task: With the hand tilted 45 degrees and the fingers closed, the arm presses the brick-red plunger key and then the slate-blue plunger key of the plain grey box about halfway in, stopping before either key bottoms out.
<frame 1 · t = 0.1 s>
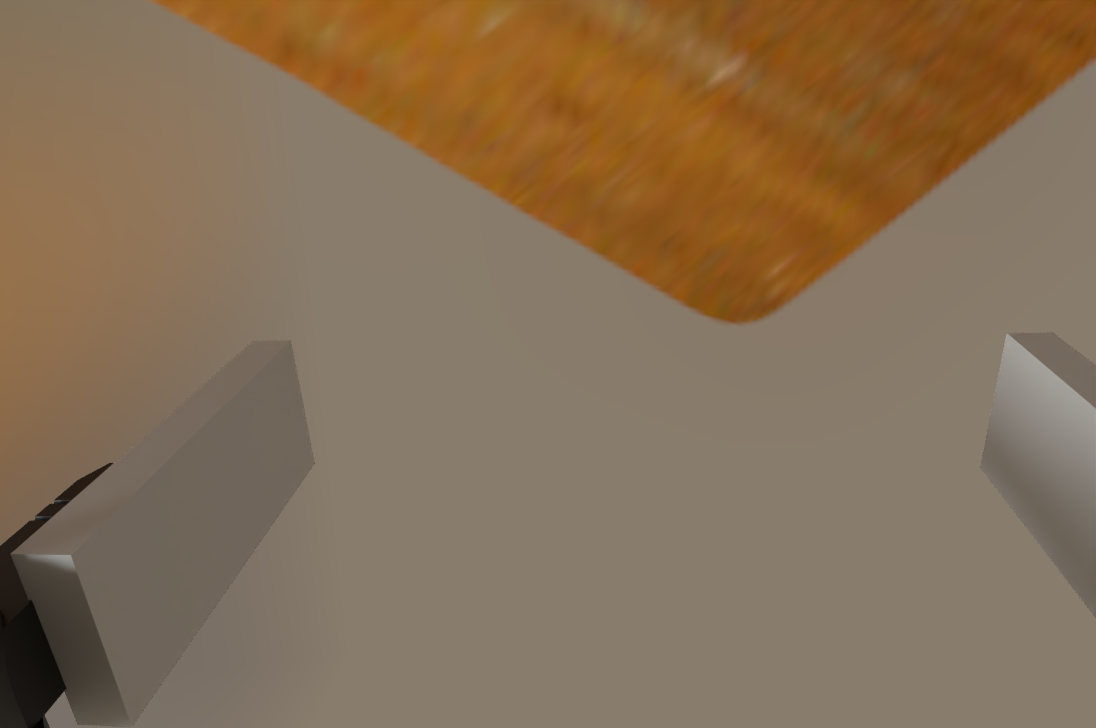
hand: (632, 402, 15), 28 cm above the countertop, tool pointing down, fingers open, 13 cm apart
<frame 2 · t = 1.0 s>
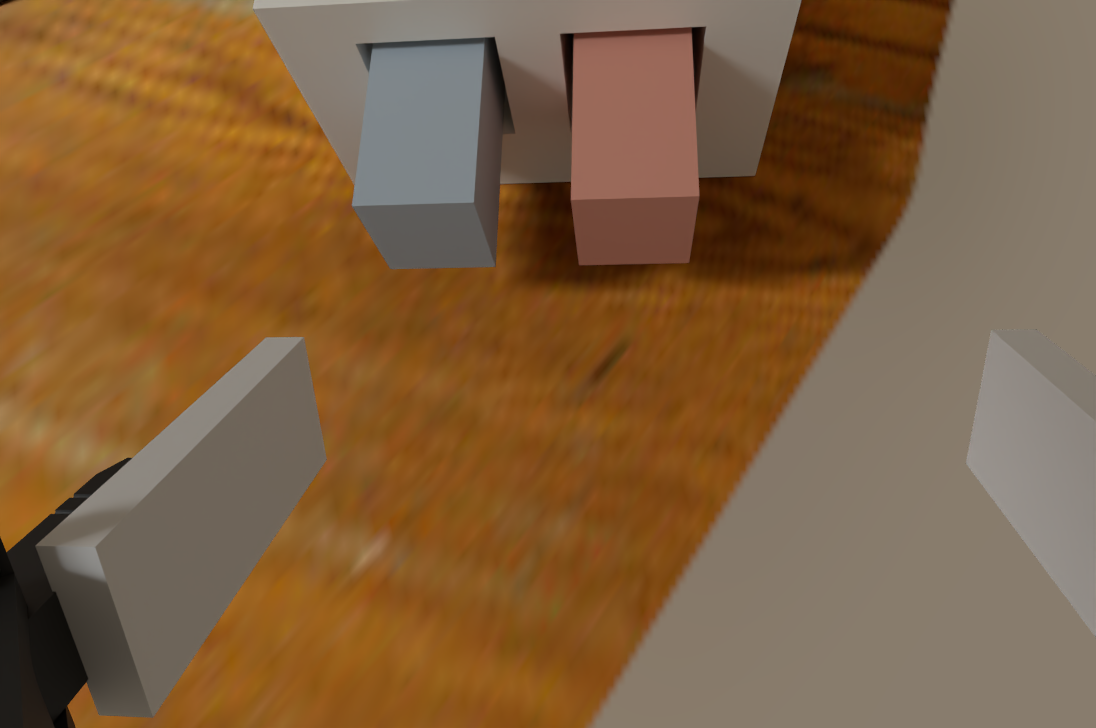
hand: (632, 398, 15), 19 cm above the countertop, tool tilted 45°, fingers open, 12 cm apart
brick key: (631, 64, 33), point 7 cm above the countertop, slide at 0.0 cm
slate key: (443, 72, 34), point 7 cm above the countertop, slide at 0.0 cm
plain grey box: (554, 69, 42), on the countertop
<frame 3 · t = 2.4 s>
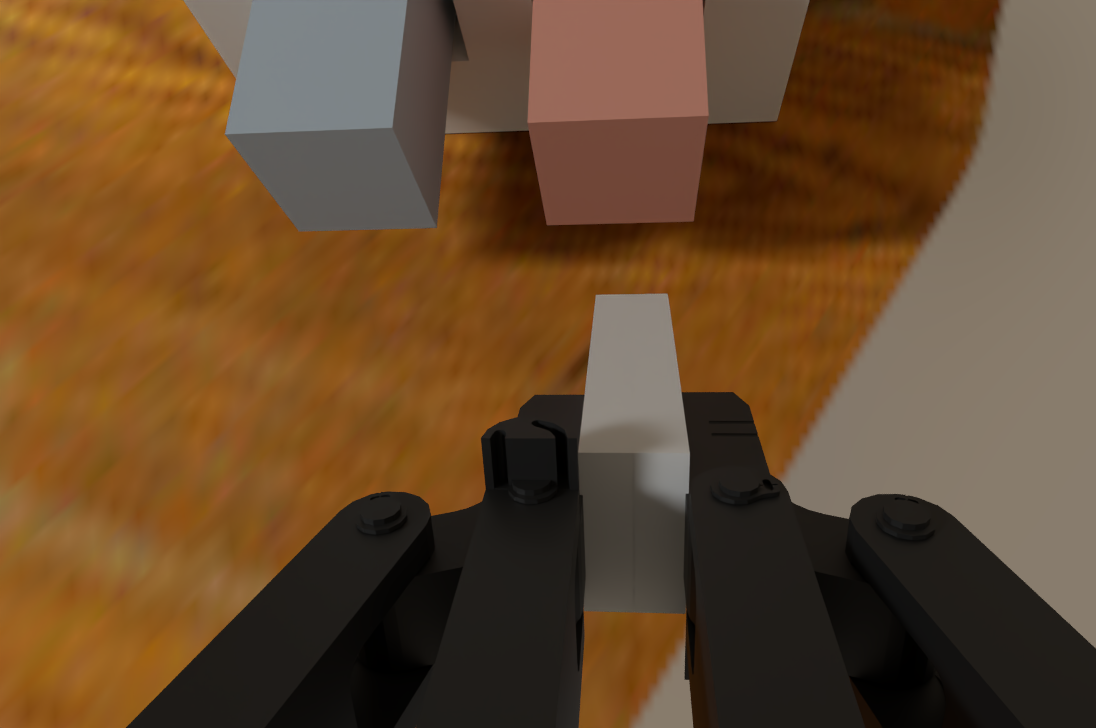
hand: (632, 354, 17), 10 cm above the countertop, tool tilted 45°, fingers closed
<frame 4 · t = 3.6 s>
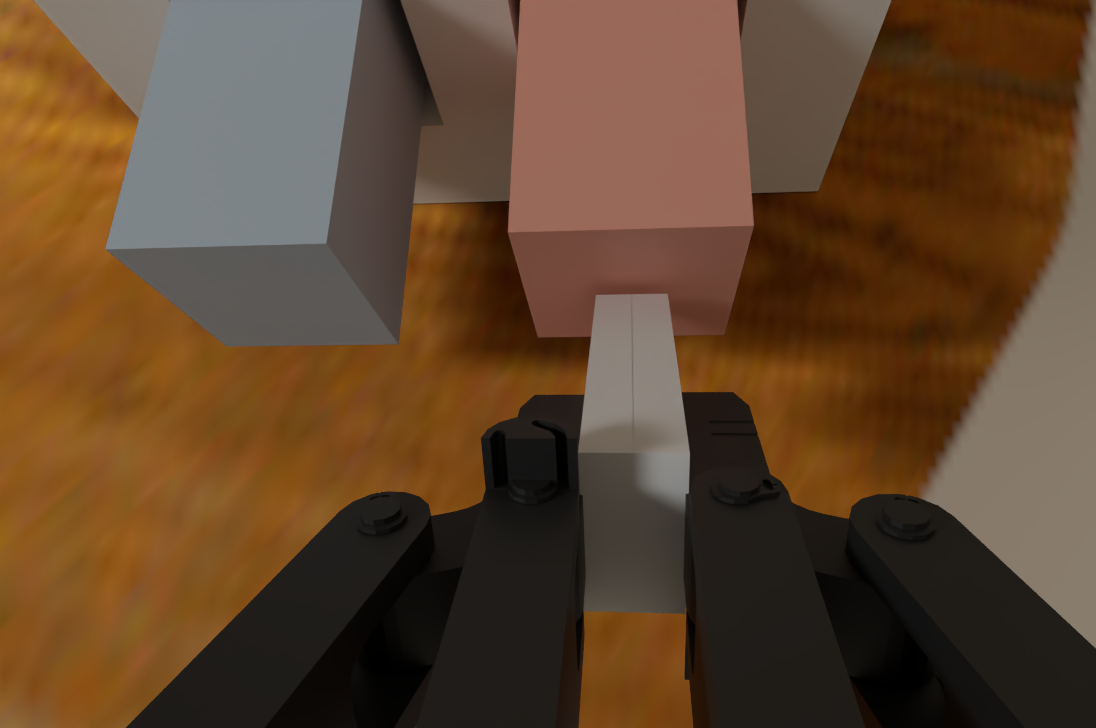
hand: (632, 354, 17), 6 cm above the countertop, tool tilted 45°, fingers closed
brick key: (626, 1, 20), point 7 cm above the countertop, slide at 0.2 cm, touching gripper
slate key: (317, 23, 21), point 7 cm above the countertop, slide at 0.0 cm
plain grey box: (516, 35, 29), on the countertop
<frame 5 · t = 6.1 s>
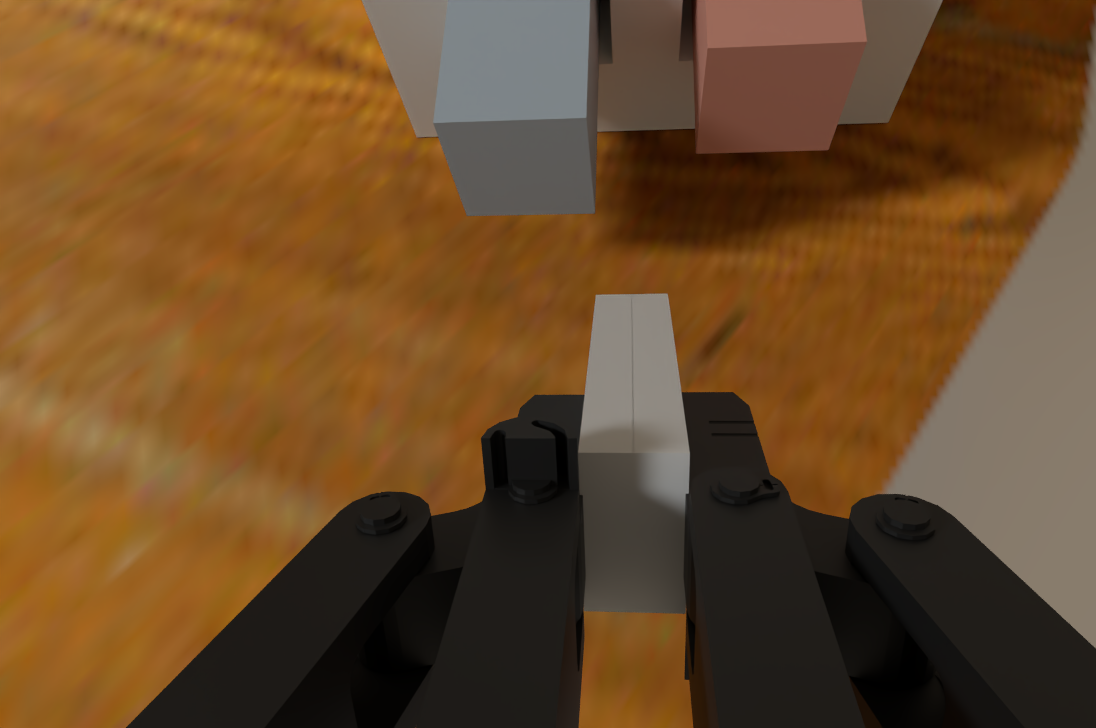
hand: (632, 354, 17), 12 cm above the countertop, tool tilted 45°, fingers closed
plain grey box: (644, 5, 36), on the countertop
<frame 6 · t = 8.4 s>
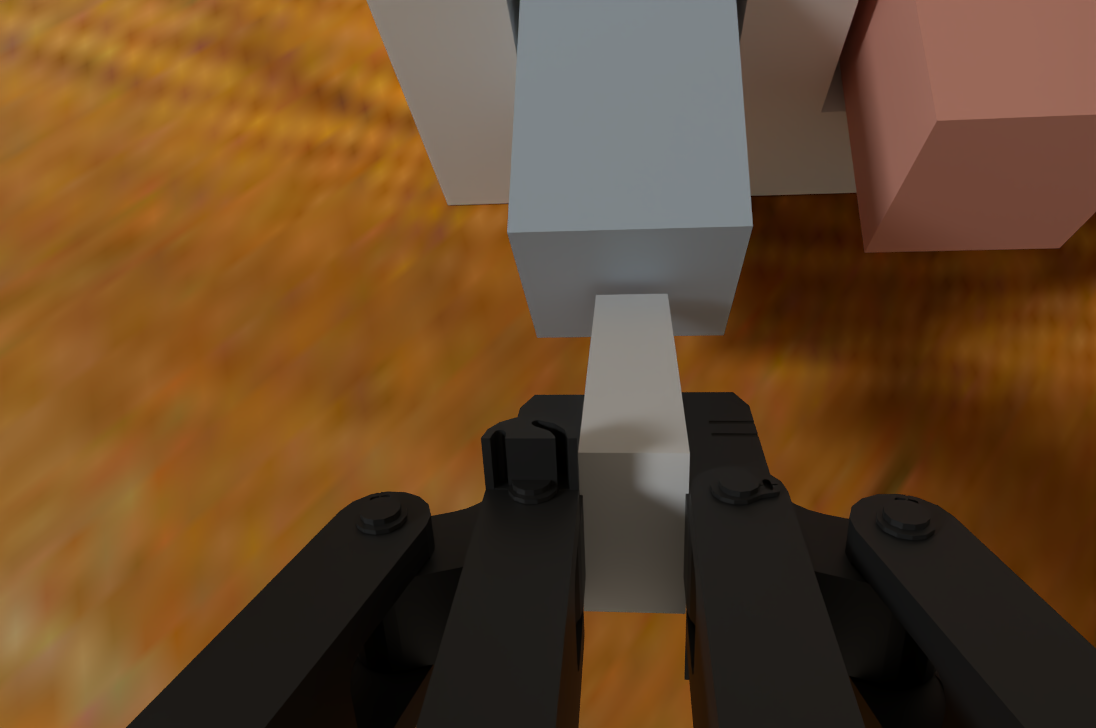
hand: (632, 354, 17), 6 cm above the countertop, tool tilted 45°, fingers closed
slate key: (626, 2, 20), point 7 cm above the countertop, slide at 0.2 cm, touching gripper
plain grey box: (740, 26, 28), on the countertop
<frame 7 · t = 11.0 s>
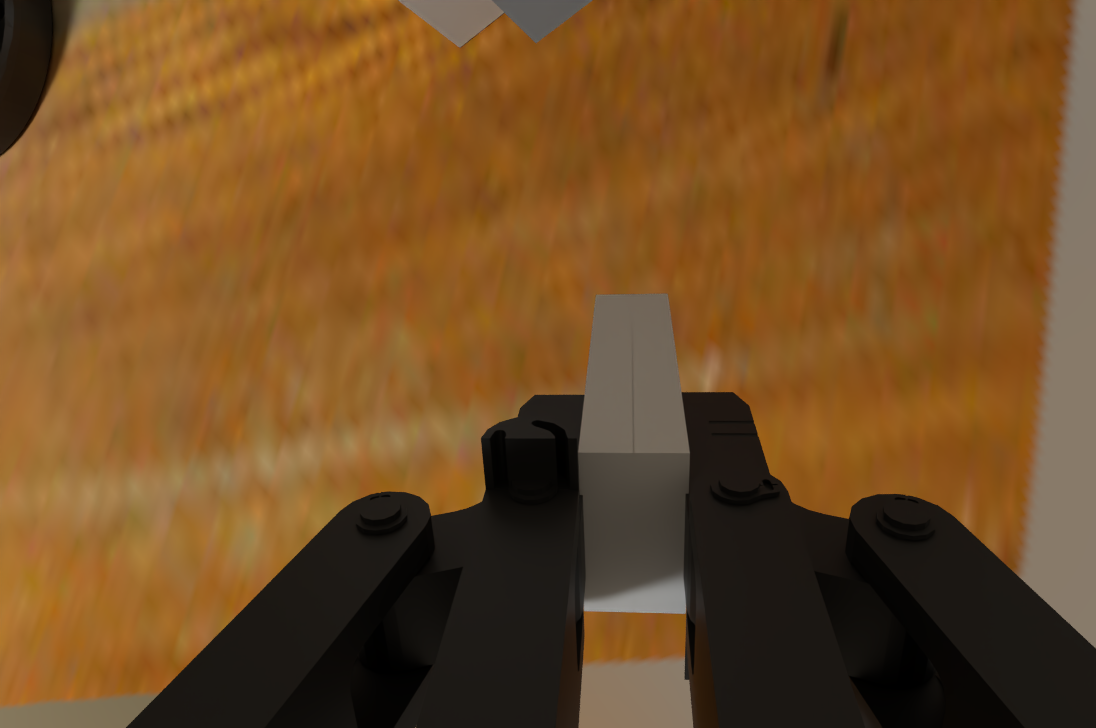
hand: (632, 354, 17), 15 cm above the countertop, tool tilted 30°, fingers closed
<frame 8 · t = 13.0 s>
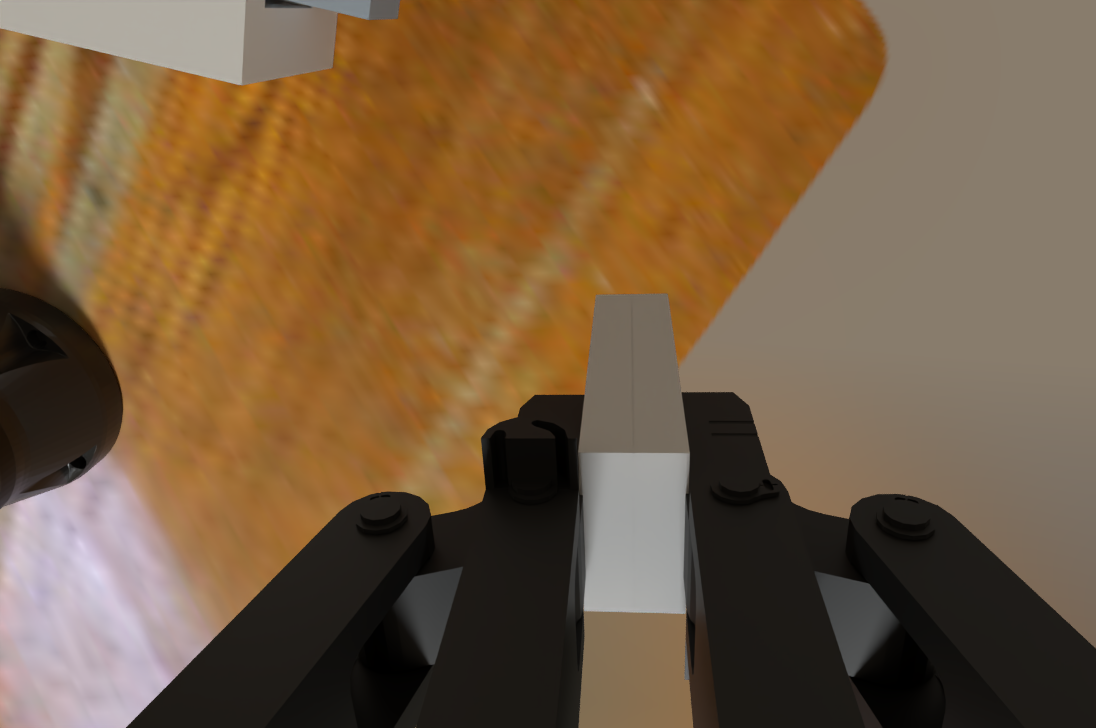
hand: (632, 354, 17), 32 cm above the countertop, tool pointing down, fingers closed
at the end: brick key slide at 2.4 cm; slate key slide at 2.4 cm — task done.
